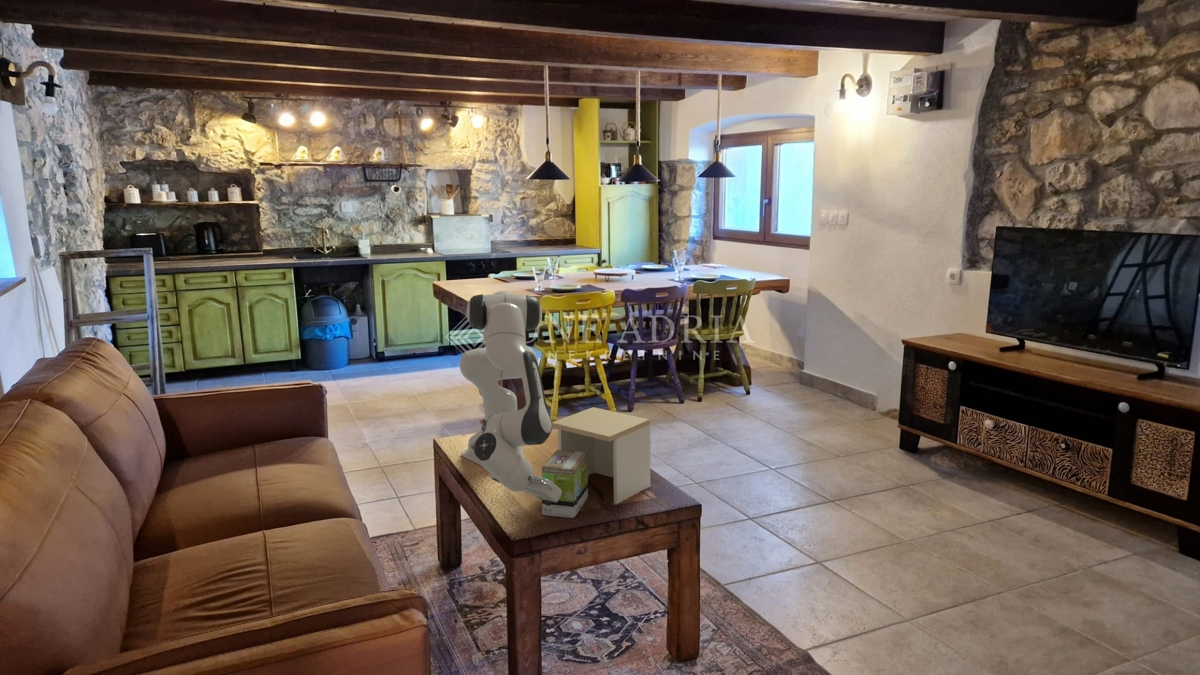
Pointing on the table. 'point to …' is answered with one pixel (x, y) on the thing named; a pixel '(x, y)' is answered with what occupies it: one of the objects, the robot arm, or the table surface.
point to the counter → (610, 447)
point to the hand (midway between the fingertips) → (542, 496)
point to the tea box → (566, 482)
